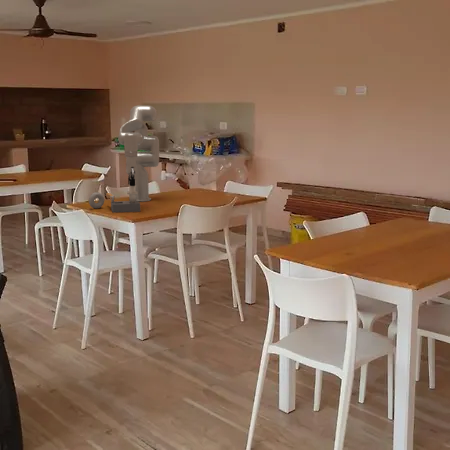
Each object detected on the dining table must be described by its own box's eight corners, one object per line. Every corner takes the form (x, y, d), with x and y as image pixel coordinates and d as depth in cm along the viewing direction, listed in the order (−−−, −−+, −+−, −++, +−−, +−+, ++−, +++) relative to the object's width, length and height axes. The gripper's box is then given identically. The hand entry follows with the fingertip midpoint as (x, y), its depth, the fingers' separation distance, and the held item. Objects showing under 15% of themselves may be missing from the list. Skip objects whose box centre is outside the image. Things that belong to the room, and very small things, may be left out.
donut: (90, 209, 368) (89, 193, 366) (88, 209, 371) (87, 192, 369) (105, 208, 374) (105, 191, 372) (103, 207, 377) (102, 191, 375)
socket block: (111, 209, 370) (110, 199, 368) (137, 208, 374) (137, 198, 373) (113, 212, 359) (112, 201, 358) (140, 211, 364) (140, 200, 362)
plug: (126, 201, 369) (126, 179, 366) (136, 201, 370) (136, 179, 368) (127, 203, 363) (128, 181, 361) (138, 202, 365) (138, 181, 362)
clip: (111, 199, 365) (110, 196, 364) (106, 196, 378) (105, 193, 378) (115, 199, 366) (114, 196, 365) (109, 196, 379) (109, 192, 379)
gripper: (122, 153, 368) (123, 183, 372) (126, 156, 352) (127, 187, 356) (135, 153, 370) (136, 183, 374) (139, 155, 354) (140, 186, 358)
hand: (131, 184), depth 365 cm, fingers open, 5 cm apart
